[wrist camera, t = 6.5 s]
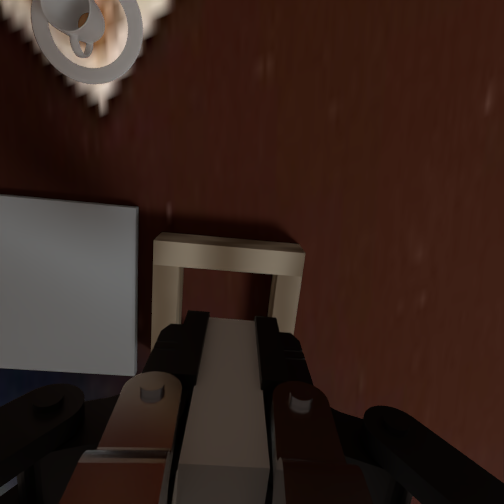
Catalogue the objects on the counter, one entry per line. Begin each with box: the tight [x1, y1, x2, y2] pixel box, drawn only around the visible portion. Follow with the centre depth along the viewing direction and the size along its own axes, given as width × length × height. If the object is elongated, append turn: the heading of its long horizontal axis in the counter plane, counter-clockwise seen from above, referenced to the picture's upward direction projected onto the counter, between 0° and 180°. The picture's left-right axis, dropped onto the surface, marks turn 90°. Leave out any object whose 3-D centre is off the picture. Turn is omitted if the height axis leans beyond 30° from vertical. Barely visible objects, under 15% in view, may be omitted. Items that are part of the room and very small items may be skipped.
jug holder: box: [151, 232, 305, 351], centre depth 30 cm, size 12×12×3 cm
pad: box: [0, 194, 139, 376], centre depth 30 cm, size 16×16×1 cm
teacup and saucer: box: [31, 0, 143, 84], centre depth 23 cm, size 9×8×4 cm
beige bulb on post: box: [173, 317, 270, 504], centre depth 12 cm, size 12×6×9 cm, turn 174°
